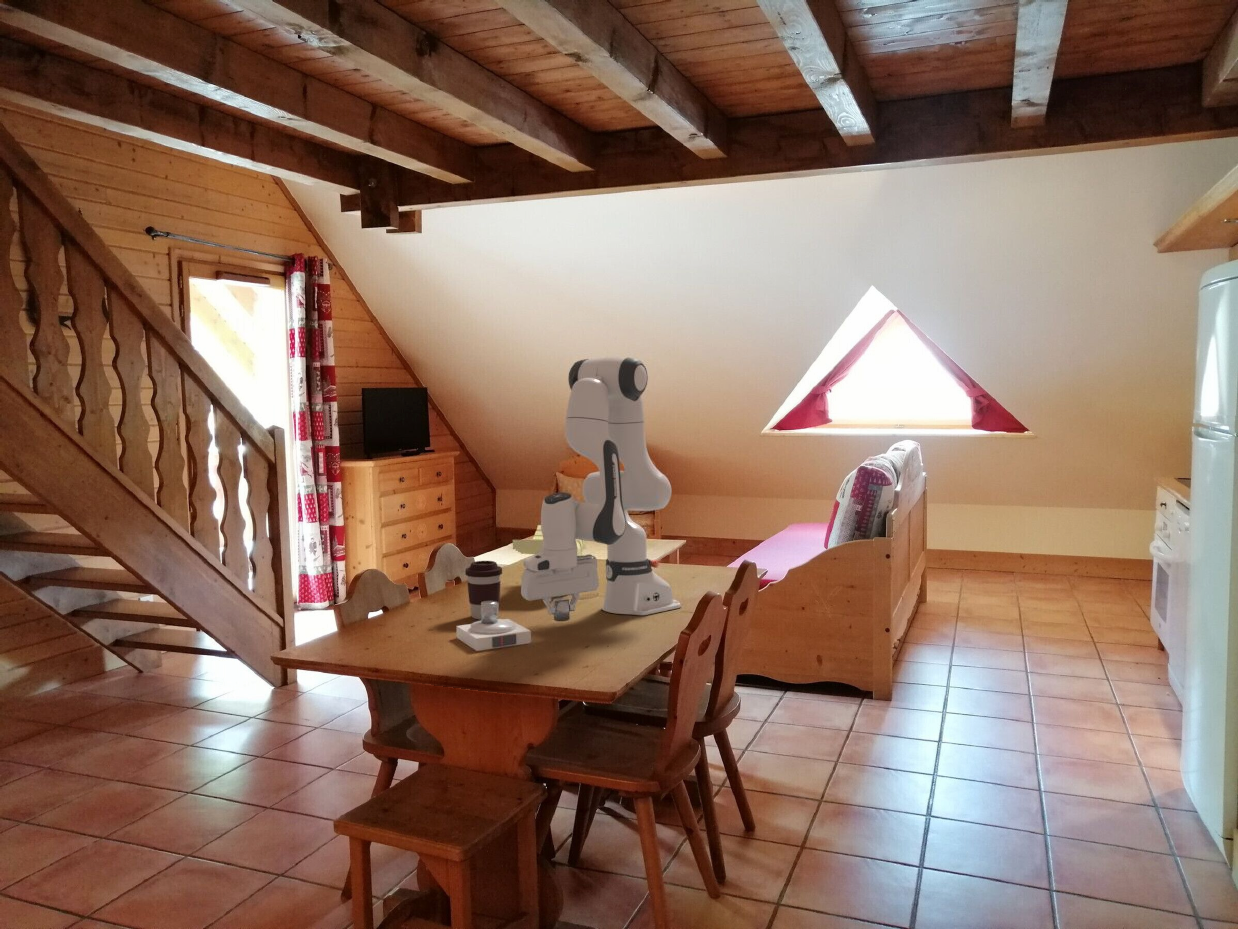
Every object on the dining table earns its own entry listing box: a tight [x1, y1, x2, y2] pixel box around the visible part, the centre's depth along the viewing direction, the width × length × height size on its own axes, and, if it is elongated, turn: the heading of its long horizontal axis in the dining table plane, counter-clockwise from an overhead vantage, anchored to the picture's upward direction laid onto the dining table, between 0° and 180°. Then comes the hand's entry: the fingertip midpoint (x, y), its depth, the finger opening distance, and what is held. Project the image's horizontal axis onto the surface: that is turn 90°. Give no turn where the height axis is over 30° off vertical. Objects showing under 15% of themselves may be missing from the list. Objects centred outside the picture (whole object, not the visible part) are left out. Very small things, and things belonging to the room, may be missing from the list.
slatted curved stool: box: [512, 524, 587, 556], centre depth 293 cm, size 30×16×18 cm, turn 170°
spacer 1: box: [480, 601, 499, 624], centre depth 236 cm, size 4×4×5 cm
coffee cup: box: [465, 560, 503, 621], centre depth 258 cm, size 10×10×15 cm
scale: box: [456, 618, 532, 652], centre depth 234 cm, size 14×15×4 cm
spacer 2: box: [552, 597, 571, 622], centre depth 238 cm, size 4×4×5 cm
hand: (561, 612), depth 238 cm, fingers closed on spacer 2, 4 cm apart
